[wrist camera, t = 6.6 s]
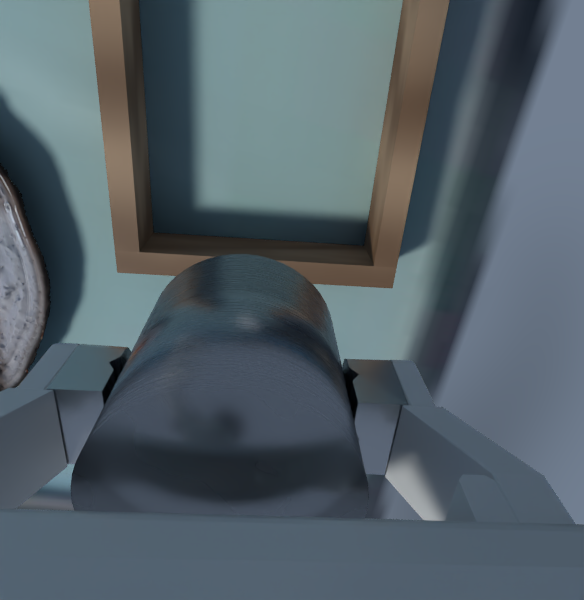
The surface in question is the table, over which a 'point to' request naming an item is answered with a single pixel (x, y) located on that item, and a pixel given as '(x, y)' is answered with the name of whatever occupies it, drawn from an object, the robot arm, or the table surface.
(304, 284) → the grey rounded piece
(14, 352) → the food plate
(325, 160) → the table surface
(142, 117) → the wooden u-shaped frame
